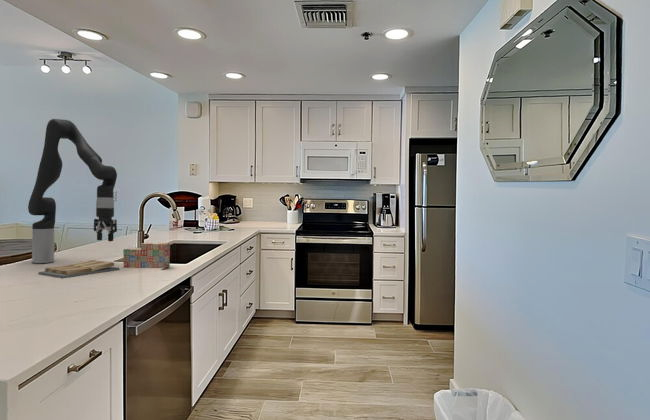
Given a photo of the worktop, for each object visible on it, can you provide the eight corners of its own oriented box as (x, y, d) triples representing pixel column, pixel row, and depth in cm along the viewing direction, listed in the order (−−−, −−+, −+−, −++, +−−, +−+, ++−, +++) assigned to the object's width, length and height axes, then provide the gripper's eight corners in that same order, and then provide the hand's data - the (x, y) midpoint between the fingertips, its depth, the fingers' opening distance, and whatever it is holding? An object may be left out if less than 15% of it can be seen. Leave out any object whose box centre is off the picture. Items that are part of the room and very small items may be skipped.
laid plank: (45, 271, 182) (45, 268, 182) (67, 268, 190) (67, 265, 190) (68, 274, 173) (68, 271, 173) (90, 271, 182) (90, 268, 182)
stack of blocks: (123, 267, 201) (123, 243, 201) (129, 265, 207) (129, 242, 207) (164, 268, 200) (164, 243, 199) (170, 266, 206) (170, 242, 206)
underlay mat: (38, 274, 180) (38, 272, 180) (95, 266, 203) (95, 264, 203) (62, 278, 171) (62, 275, 171) (119, 269, 194) (119, 267, 194)
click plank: (68, 268, 191) (68, 264, 191) (91, 262, 201) (91, 259, 200) (91, 271, 182) (91, 268, 182) (114, 265, 192) (114, 262, 192)
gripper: (88, 206, 193) (88, 240, 193) (107, 207, 186) (107, 242, 186) (103, 206, 199) (103, 239, 200) (121, 207, 193) (121, 241, 193)
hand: (105, 240), depth 193 cm, fingers open, 8 cm apart
